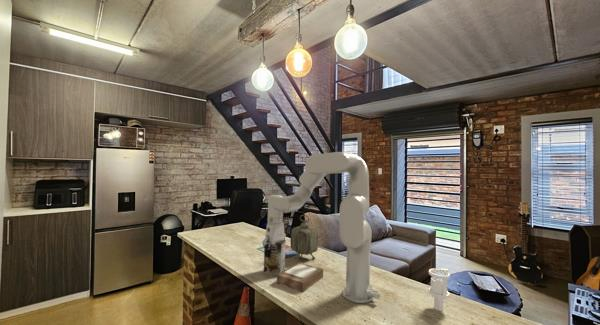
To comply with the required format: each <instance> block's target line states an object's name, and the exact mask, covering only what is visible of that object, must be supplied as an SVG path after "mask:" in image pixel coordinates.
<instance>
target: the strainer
mask: <svg viewBox="0 0 600 325" xmlns="http://www.w3.org/2000/svg"><path fill="white" fill-rule="evenodd" d="M436 273H440V274H444V275H439V274H436ZM428 275H429V276H431V277H430V287H429V288H428V294H429V295H431V297H433V302H434V304H433V309H435V310H436V311H440V312H442V311H444V300H448V299H449V298H450V292H449V291H448V281H447V280H449V279H450V278H451V274H450V271H449V269H448V268H430V269H428Z"/></svg>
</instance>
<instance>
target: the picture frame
mask: <svg viewBox="0 0 600 325" xmlns="http://www.w3.org/2000/svg"><path fill="white" fill-rule="evenodd" d="M323 278H324V268H322V267H318V266H314V265H311V264H307V263H303V262H297V263H296V264H294V265H292V266H290V267H288V268H286V269H285V270H284V271H282V272H281V273H279V274H277V276H276V284H278V285H281V286H284V287H287V288H289V289H293V290H295V291H298V292H301V293H304V292H306V290H308V289H309V288H310V287H312V286H313V285H315V284H316V283H317V282H319V281H320V280H321V279H323Z"/></svg>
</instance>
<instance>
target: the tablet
mask: <svg viewBox="0 0 600 325" xmlns="http://www.w3.org/2000/svg"><path fill="white" fill-rule="evenodd" d="M256 250H258V251H261V252H262V253H264V247H263V246H261V247H257V248H256ZM297 255H299V254H298V253H297V252H295V251H293V250H292V249H291V245H287V244H285V260H286V259H288V258H291V257H294V256H297Z"/></svg>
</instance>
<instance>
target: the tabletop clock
mask: <svg viewBox="0 0 600 325" xmlns="http://www.w3.org/2000/svg"><path fill="white" fill-rule="evenodd" d="M301 217H306V218H308V220H306V219H302V218H301ZM299 220H300V221H301V223H300V226H296V227H293V228H292V229H291V232H290V238H289V239H290V240H289V241H290V246H291V249H292V250H293V251H295V252H297V253H298V255H300V256H299V259H300V260H303V255H305V256H307V255H311V259H312V260H315V259H316V256H313V253H316V252H317V251H318V248H319V232H318V229H317V228H315V227H313V226H310V225H309V224H308V223H309V222H310V218H309V216H308V215H306V214H301V215H300V216H299Z"/></svg>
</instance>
